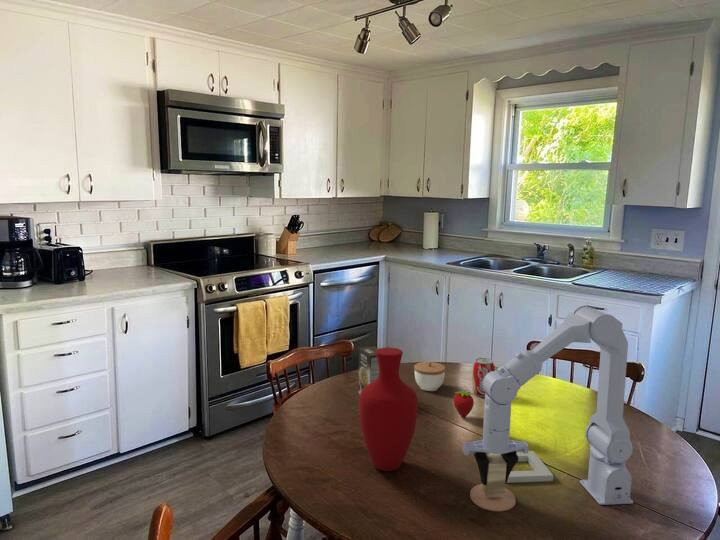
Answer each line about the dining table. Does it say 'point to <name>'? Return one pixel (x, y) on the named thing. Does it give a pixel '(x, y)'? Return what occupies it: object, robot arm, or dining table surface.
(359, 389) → the coffee box
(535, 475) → the grey square frame
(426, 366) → the lidded jar
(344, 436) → the dining table surface
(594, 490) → the robot arm
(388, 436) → the vase
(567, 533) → the dining table surface
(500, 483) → the maple block
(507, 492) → the pink disc
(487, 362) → the soda can
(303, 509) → the dining table surface
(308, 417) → the dining table surface
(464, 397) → the strawberry
